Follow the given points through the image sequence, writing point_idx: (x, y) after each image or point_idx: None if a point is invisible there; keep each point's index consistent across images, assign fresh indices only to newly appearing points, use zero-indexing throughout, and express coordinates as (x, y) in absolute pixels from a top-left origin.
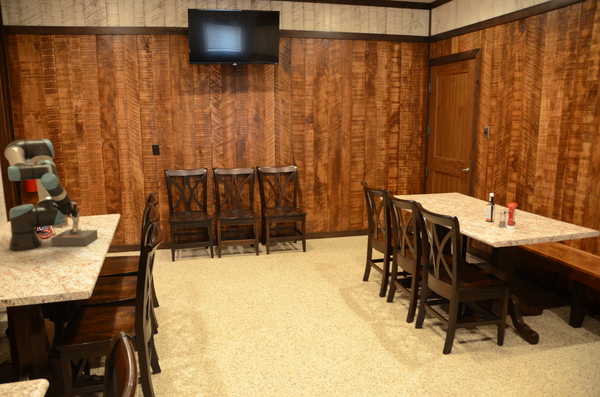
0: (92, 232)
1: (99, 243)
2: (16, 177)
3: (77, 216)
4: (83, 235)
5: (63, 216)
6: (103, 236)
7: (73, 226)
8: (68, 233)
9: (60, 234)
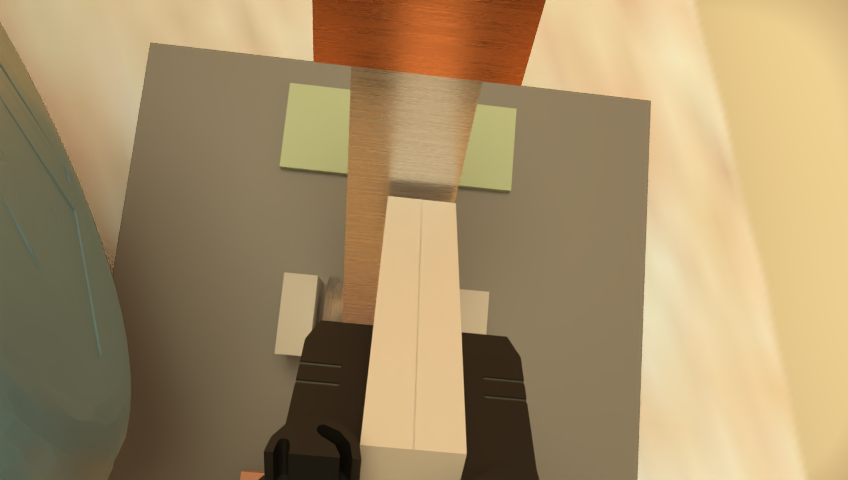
0: (638, 269)
1: (721, 441)
2: None
3: (446, 155)
4: (561, 468)
5: (118, 442)
6: (649, 59)
7: (361, 302)
8: (259, 275)
9: (140, 327)
